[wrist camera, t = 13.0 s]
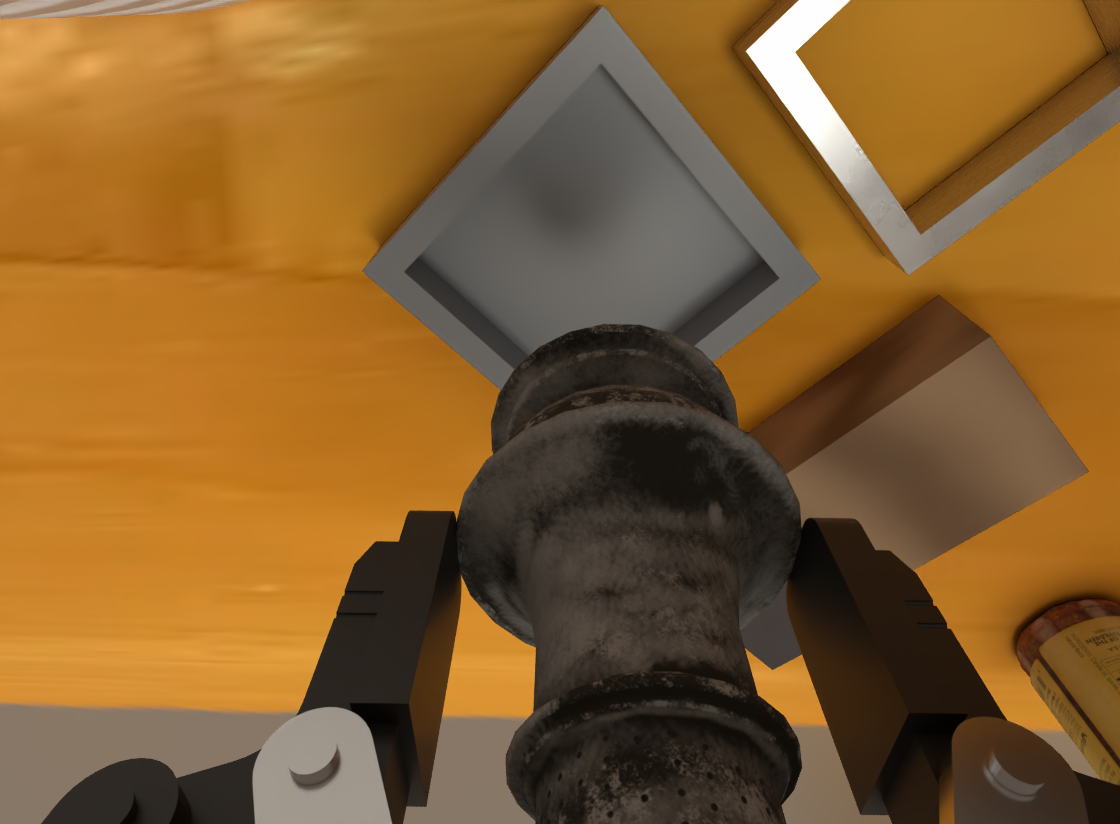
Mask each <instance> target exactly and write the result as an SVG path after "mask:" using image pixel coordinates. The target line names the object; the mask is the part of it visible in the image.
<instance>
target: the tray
mask: <svg viewBox="0 0 1120 824" xmlns="http://www.w3.org/2000/svg"><path fill="white" fill-rule="evenodd" d="M362 272H364V273H365V274H366V275H367V276H368V277H369V278H371V279H372V280H373V281H374V282H375V283H376V284H378V285H379V286H380V287H381V288H382V289H383V290H385V291H386V292H387V293H388V294H389V295H390V296H392V297H393V298H394V299H395V300H396V301H397V302H399V303H400V304H401V305H402V306H403V307H404V308H406V309H407V310H408V311H409V312H410V313H411V314H413V315H414V316H415V317H416V318H417V319H418V320H420V321H421V322H422V323H423V324H424V325H425V326H427V327H428V328H429V329H430V330H431V331H432V332H434V333H435V334H436V335H437V336H438V337H439V338H441V339H442V340H443V341H444V342H445V343H446V344H448V345H449V346H450V347H451V348H452V349H453V350H455V351H456V352H457V353H458V354H459V355H460V356H462V357H463V358H464V359H465V360H466V361H467V362H469V363H470V364H471V365H472V366H473V367H474V368H476V369H477V370H478V371H479V372H480V373H482V374H483V375H484V376H485V377H486V378H487V379H489V380H490V381H491V382H492V383H493V384H494V385H496V386H497V387H498V388H499V389H500V390H502V388H503V386H504V385H505V383H506V382H507V380H508V379H509V377H510V375H511V374H512V372H513V371H514V369H515V368H516V367H517V366H518V365H519V364H520V363H522V362H523V361H524V360H525V359H526V358H527V357H528V356H530V355H531V354H532V353H533V352H534V351H535V350H536V349H538V348H539V347H540V346H542V345H544V344H546V343H548V342H550V341H552V340H554V339H556V338H558V337H560V336H562V335H564V334H566V333H568V332H570V331H575V330H579V329H584V328H588V327H593V326H597V325H602V324H632V325H643V326H646V327H650V328H654V329H657V330H661V331H665V332H668V333H672V334H674V335H676V336H678V337H679V338H681V339H683V340H684V341H686V342H688V343H690V344H691V345H693V346H695V347H696V348H698V349H700V350H701V351H702V352H703V353H704V354H705V355H706V356H707V357H708V358H709V359H710V360H711V361H712V363H713V362H714V361H715V360H717V359H718V358H719V357H720V356H722V355H723V354H724V353H726V352H727V351H728V350H730V349H731V348H732V347H733V346H735V345H736V344H737V343H739V342H740V341H741V340H743V339H744V338H745V337H746V336H748V335H749V334H750V333H752V332H753V331H754V330H756V329H757V328H758V327H759V326H761V325H762V324H763V323H765V322H766V321H767V320H769V319H770V318H771V317H773V316H774V315H775V314H776V313H778V312H779V311H780V310H782V309H783V308H784V307H786V306H787V305H788V304H789V303H791V302H792V301H793V300H795V299H796V298H797V297H799V296H800V295H801V294H802V293H804V292H805V291H806V290H808V289H809V288H810V287H812V286H813V285H814V284H816V283H817V282H818V281H819V280H821V278H820V277H819V276H818V274H817V273H816V272H815V271H814V269H813V268H812V267H811V265H810V264H809V263H808V262H807V260H806V259H805V258H804V257H803V255H802V254H801V253H800V252H799V250H798V249H797V248H796V247H795V245H794V244H793V243H792V242H791V240H790V239H789V238H788V237H787V235H786V234H785V233H784V232H783V230H782V229H781V228H780V227H779V225H778V224H777V223H776V222H775V220H774V219H773V218H772V216H771V215H770V214H769V213H768V211H767V210H766V209H765V208H764V206H763V205H762V204H761V203H760V201H759V200H758V199H757V198H756V196H755V195H754V194H753V193H752V191H751V190H750V189H749V188H748V186H747V185H746V184H745V183H744V181H743V180H742V179H741V178H740V176H739V175H738V174H737V173H736V171H735V170H734V169H733V167H732V166H731V165H730V164H729V162H728V161H727V160H726V159H725V157H724V156H723V155H722V154H721V152H720V151H719V150H718V149H717V147H716V146H715V145H714V144H713V142H712V141H711V140H710V139H709V137H708V136H707V135H706V134H705V132H704V131H703V130H702V129H701V127H700V126H699V125H698V124H697V122H696V121H695V120H694V119H693V117H692V116H691V115H690V113H689V112H688V111H687V110H686V108H685V107H684V106H683V105H682V103H681V102H680V101H679V100H678V98H677V97H676V96H675V95H674V93H673V92H672V91H671V90H670V88H669V87H668V86H667V85H666V83H665V82H664V81H663V80H662V78H661V77H660V76H659V75H658V73H657V72H656V71H655V70H654V68H653V67H652V66H651V64H650V63H649V62H648V61H647V59H646V58H645V57H644V56H643V54H642V53H641V52H640V51H639V49H638V48H637V47H636V46H635V44H634V43H633V42H632V41H631V39H630V38H629V37H628V36H627V34H626V33H625V32H624V31H623V29H622V28H621V27H620V26H619V24H618V23H617V22H616V21H615V19H614V18H613V17H612V15H611V14H610V13H609V12H608V10H607V9H606V8H605V7H604V6H602V5H599V6H598V8H597V9H596V10H595V11H594V12H593V13H592V14H591V15H590V16H589V17H588V19H587V20H586V21H585V22H584V23H583V24H582V25H581V26H580V27H579V28H578V30H577V31H576V32H575V33H574V34H573V35H572V36H571V37H570V38H569V40H568V41H567V42H566V43H565V44H564V45H563V46H562V47H561V48H560V49H559V51H558V52H557V53H556V54H555V55H554V56H553V57H552V58H551V59H550V60H549V62H548V63H547V64H546V65H545V66H544V67H543V68H542V69H541V70H540V71H539V73H538V74H537V75H536V76H535V77H534V78H533V79H532V80H531V81H530V83H529V84H528V85H527V86H526V87H525V88H524V89H523V90H522V91H521V92H520V94H519V95H518V96H517V97H516V98H515V99H514V100H513V101H512V102H511V103H510V105H509V106H508V107H507V108H506V109H505V110H504V111H503V112H502V113H501V114H500V116H499V117H498V118H497V119H496V120H495V121H494V122H493V123H492V124H491V125H490V127H489V128H488V129H487V130H486V131H485V132H484V133H483V134H482V135H481V137H480V138H479V139H478V140H477V141H476V142H475V143H474V144H473V145H472V146H471V148H470V149H469V150H468V151H467V152H466V153H465V154H464V155H463V156H462V157H461V159H460V160H459V161H458V162H457V163H456V164H455V165H454V166H453V167H452V168H451V170H450V171H449V172H448V173H447V174H446V175H445V176H444V177H443V178H442V180H441V181H440V182H439V183H438V184H437V185H436V186H435V187H434V188H433V189H432V191H431V192H430V193H429V194H428V195H427V196H426V197H425V198H424V199H423V200H422V202H421V203H420V204H419V205H418V206H417V207H416V208H415V209H414V210H413V211H412V213H411V214H410V215H409V216H408V217H407V218H406V219H405V220H404V221H403V222H402V224H401V225H400V226H399V227H398V228H397V229H396V230H395V231H394V232H393V234H392V235H391V236H390V237H389V238H388V239H387V240H386V241H385V242H384V243H383V245H382V246H381V247H380V248H379V249H378V251H377V252H376V253H375V255H374V256H373V257H372V259H371V260H370V261H369V263H368V264H367V265H366V267H365V268H364V269H363V271H362Z"/></svg>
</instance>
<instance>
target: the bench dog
mask: <svg viewBox="0 0 1120 824" xmlns="http://www.w3.org/2000/svg"><path fill="white" fill-rule="evenodd" d="M787 582H788V579H787V581H786V582H785V584H784V585H783V587H782V589H781V590H780V592H779V593H778V595H777V596H776V598H775V599H774V601H773V602H772V603H771V604H770V605H769V606H768V607H767V608H766V609H764V610H763V611H762V612H761V613H760V614H759V615H758V616H757V617H756V618H754V619H753V620H752V621H751V622H750V623H749V624H748V625H747V626H746V627H744V628H743V629H741V630H740V633H741V636H742V640H743V644H744V647H745V648H746V649H747V650H748V651H750V652H751V653H752V654H753V655H755V656H756V657H757V658H758V659H760V660H761V661H762V662H763V663H764V664H766V665H767V666H768V667H769V668H771V669H772V670H773V669H775V668H777V667H779V666H781V665H783V664H785V663H787V662H788V661H790V660H792V659H794V658H796V657H798V656H800V655H802V652H801V650H800V647H799V644H798V641H797V639H796V636H795V633H794V630H793V628H792V625H791V622H790V619H789V615H788V610H787V602H786V588H787Z"/></svg>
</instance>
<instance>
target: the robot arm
mask: <svg viewBox="0 0 1120 824" xmlns="http://www.w3.org/2000/svg"><path fill="white" fill-rule="evenodd" d="M786 602H787V610H788V615H789V619H790V622H791V625H792V628H793V630H794V633H795V636H796V639H797V641H798V644H799V647H800V650H801V652H802V655H803V658H804V661H805V663H806V666H807V669H808V672H809V674H810V677H811V680H812V683H813V685H814V688H815V691H816V694H817V696H818V699H819V702H820V705H821V707H822V710H823V713H824V716H825V718H826V721H827V724H828V727H829V729H830V732H831V735H832V738H833V740H834V743H835V746H836V749H837V751H838V754H839V757H840V760H841V762H842V765H843V768H844V771H845V773H846V776H847V779H848V781H849V784H850V787H851V790H852V793H853V795H854V798H855V801H856V804H857V806H858V809H859V812H860V814H861V815H889V817H890V819H891V822H892V824H1120V785H1116V784H1113V783H1110V782H1106V781H1103V780H1099V779H1097V778H1093V777H1090V776H1087V775H1084V774H1081V773H1078V772H1075V771H1073V770H1072V768H1071V767H1070V766H1069V764H1068V763H1067V762H1066V761H1065V759H1064V758H1063V757H1062V756H1061V755H1060V754H1059V753H1058V752H1057V751H1056V750H1055V749H1054V748H1053V747H1052V746H1051V745H1049V744H1048V743H1047V742H1046V741H1044V740H1043V739H1042V738H1040V737H1039V736H1037V735H1036V734H1034V733H1033V732H1031V731H1029V730H1028V729H1026V728H1024V727H1022V726H1020V725H1017V724H1015V723H1012V722H1010V721H1007V719H1006V718H1005V716H1004V715H1003V713H1002V712H1001V710H1000V708H999V707H998V705H997V704H996V702H995V700H994V699H993V697H992V695H991V694H990V692H989V691H988V689H987V687H986V686H985V684H984V682H983V681H982V679H981V678H980V676H979V674H978V673H977V671H976V669H975V668H974V666H973V665H972V663H971V661H970V660H969V658H968V656H967V655H966V653H965V652H964V650H963V648H962V647H961V645H960V643H959V642H958V640H957V639H956V637H955V635H954V634H953V632H952V630H951V629H948V628H947V622H946V621H945V619H944V617H943V616H942V614H941V613H940V611H939V609H938V608H937V606H934V605H933V600H932V598H931V596H930V595H929V593H928V591H927V590H926V588H925V587H924V585H923V583H922V582H921V580H920V578H919V577H918V575H917V574H916V573H915V572H914V571H913V570H912V569H911V568H909V567H908V566H907V565H906V564H905V563H904V562H903V561H901V560H900V559H899V558H898V557H897V556H896V555H895V554H893V553H892V552H891V551H890V550H875V548H874V546H873V545H872V543H871V541H870V539H869V538H868V536H867V534H866V532H865V531H864V529H863V527H862V525H861V524H860V523H859V522H858V520H856V519H853V518H808V519H806V521H805V522H804V524H803V527H802V533H801V541H800V544H799V548H798V551H797V555H796V559H795V562H794V566H793V569H792V573H791V575H790V576H789V578H788V582H787V588H786ZM460 604H461V573H460V569H459V559H458V548H457V536H456V516H455V513H454V511H409V512H408V514H407V517H406V520H405V523H404V527H403V530H402V533H401V536H400V540H399V542H384V541H376V542H375V543H374V544H373V545H372V546H371V547H370V548H369V549H368V550H367V551H366V552H365V553H364V555H363V556H362V557H361V558H360V559H359V560H358V561H357V562H356V563H355V564H354V567H353V570H352V572H351V575H350V578H349V580H348V583H347V586H346V588H345V595H344V596H342V599H341V602H340V604H339V607H338V610H337V616H336V618H334V621H333V623H332V626H331V629H330V631H329V634H328V637H327V639H326V642H325V645H324V647H323V650H322V653H321V655H320V658H319V661H318V663H317V666H316V669H315V671H314V674H313V677H312V680H311V682H310V685H309V688H308V690H307V693H306V696H305V698H304V701H303V703H302V705H301V708H300V710H299V712H298V713H297V715H296V716H295V717H294V718H292V719H291V720H289V721H287V722H286V723H285V724H283V725H282V726H281V727H280V728H278V729H277V730H276V731H275V732H274V733H273V734H272V735H271V737H270V738H269V739H268V740H267V742H266V743H265V744H264V746H263V747H262V749H260V750H259V751H257V752H255V753H253V754H251V755H249V756H247V757H245V758H242V759H239V760H236V761H233V762H230V763H227V764H223V765H220V766H216V767H213V768H210V769H206V770H203V771H199V772H196V773H193V774H190V775H186V776H183V777H179V778H176V777H175V775H174V773H173V771H172V770H171V769H170V768H169V767H168V766H167V765H165V764H163V763H162V762H160V761H157V760H153V759H146V758H138V759H129V760H125V761H120V762H117V763H115V764H112V765H109V766H107V767H105V768H103V769H101V770H99V771H97V772H95V773H94V774H92V775H90V776H89V777H87V778H85V779H84V780H83V781H81V782H80V783H79V784H77V785H76V786H75V787H73V788H72V789H71V790H70V791H69V792H68V793H67V794H66V795H65V796H64V797H63V798H62V799H61V800H60V801H59V803H58V804H57V805H56V806H55V807H54V808H53V810H52V811H51V812H50V814H49V815H48V816H47V818H45V820H44V821H43V822H42V824H403V821H404V815H405V810H406V806H416V807H418V806H419V807H421V806H422V807H423V806H424V807H426V806H427V799H428V793H429V788H430V782H431V777H432V771H433V765H434V759H435V753H436V747H437V742H438V735H439V729H440V724H441V718H442V712H443V706H444V701H445V695H446V689H447V683H448V677H449V671H450V666H451V660H452V654H453V648H454V642H455V636H456V630H457V625H458V619H459V613H460Z"/></svg>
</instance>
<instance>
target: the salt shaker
mask: <svg viewBox="0 0 1120 824" xmlns="http://www.w3.org/2000/svg"><path fill="white" fill-rule="evenodd" d="M491 434H492V451H493V455H492V456H491V457H490V458H488V459H487V460H486V462H485V463H484V464H483V466H482V467H481V469H480V470H479V472H478V473H477V475H476V476H475V478H474V479H473V481H472V482H471V484H470V485H469V487H468V488H467V490H466V491H465V493H464V496H463V500H462V503H461V507H460V511H459V515H458V518H457V522H456V536H457V548H458V559H459V569H460V573H461V575H462V577H463V579H464V582H465V584H466V586H467V588H468V591H469V593H470V595H471V596H472V597H473V599H474V600H475V601H476V602H477V603H478V604H479V605H480V607H481V608H482V609H483V610H484V611H485V612H486V613H487V615H488V616H489V617H490V618H491V619H492V620H493V621H494V622H495V623H496V624H498V625H499V626H501V627H502V628H504V629H505V630H507V631H508V632H509V633H511V634H512V635H514V636H515V637H517V638H518V639H520V640H521V641H523V642H524V643H526V644H529V645H531V646H534V647H536V664H535V687H534V710H533V713H532V714H531V716H530V717H529V718H528V719H527V720H526V721H525V722H524V723H523V724H522V725H521V726H520V727H519V728H518V730H517V731H516V732H515V734H514V736H513V739H512V741H511V744H510V746H509V749H508V751H507V754H506V776H507V785H508V787H509V789H510V791H511V793H512V794H513V796H514V798H515V800H516V802H517V804H518V805H519V806H520V807H521V808H522V809H523V810H524V811H525V812H526V813H528V815H530V816H531V817H532V818H533V819H534V820H535V821H536V824H786V821H785V817H784V813H783V810H782V806H781V805H782V804H783V803H784V802H785V801H786V799H787V798H788V797H789V796H790V794H791V793H792V792H793V791H794V789H795V786H796V783H797V780H798V777H799V774H800V772H801V769H802V762H801V753H800V744H799V741H798V738H797V736H796V735H795V733H794V731H793V730H792V728H791V726H790V725H789V723H788V721H787V720H786V718H785V716H784V715H782V714H781V713H780V712H779V711H777V710H776V709H775V708H774V707H772V706H771V705H770V704H769V703H767V702H766V701H765V700H764V699H762V698H761V697H759V696H758V694H757V690H756V686H755V683H754V679H753V676H752V672H751V669H750V665H749V661H748V658H747V654H746V651H745V647H744V644H743V640H742V636H741V633H740V630H741V629H743V628H744V627H746V626H747V625H748V624H749V623H750V622H751V621H752V620H753V619H754V618H756V617H757V616H758V615H759V614H760V613H761V612H762V611H763V610H764V609H766V608H767V607H768V606H769V605H770V604H771V603H772V602H773V601H774V599H775V598H776V596H777V595H778V593H779V592H780V590H781V589H782V587H783V585H784V584H785V582H786V581H787V579H788V578H789V576H790V575H791V573H792V569H793V566H794V562H795V559H796V555H797V551H798V548H799V544H800V541H801V533H802V527H801V513H800V503H799V501H798V498H797V496H796V494H795V492H794V490H793V488H792V485H791V483H790V481H789V479H788V477H787V475H786V473H785V470H784V468H783V466H782V465H781V464H780V463H779V462H778V461H777V460H776V459H775V458H774V457H773V456H772V455H771V454H770V453H769V452H768V451H767V449H766V448H765V447H764V446H763V445H762V444H761V443H760V442H759V441H758V440H757V439H756V438H755V437H754V436H752V435H750V434H748V433H747V432H745V431H743V430H741V429H739V427H738V419H737V411H736V403H735V399H734V397H733V395H732V393H731V391H730V389H729V387H728V384H727V382H726V380H725V378H724V376H723V374H722V372H721V371H720V370H719V369H718V368H717V367H716V366H715V365H714V364H713V363H712V361H711V360H710V359H709V358H708V357H707V356H706V355H705V354H704V353H703V352H702V351H701V350H700V349H698V348H696V347H695V346H693V345H691V344H690V343H688V342H686V341H684V340H683V339H681V338H679V337H678V336H676V335H674V334H672V333H668V332H665V331H661V330H657V329H654V328H650V327H646V326H643V325H632V324H602V325H597V326H593V327H588V328H584V329H579V330H575V331H570V332H568V333H566V334H564V335H562V336H560V337H558V338H556V339H554V340H552V341H550V342H548V343H546V344H544V345H542V346H540V347H539V348H538V349H536V350H535V351H534V352H533V353H532V354H531V355H530V356H528V357H527V358H526V359H525V360H524V361H523V362H522V363H520V364H519V365H518V366H517V367H516V368H515V369H514V371H513V372H512V374H511V375H510V377H509V379H508V380H507V382H506V383H505V385H504V386H503V388H502V390H501V391H500V393H499V395H498V399H497V403H496V406H495V410H494V413H493V417H492V421H491Z"/></svg>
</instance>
